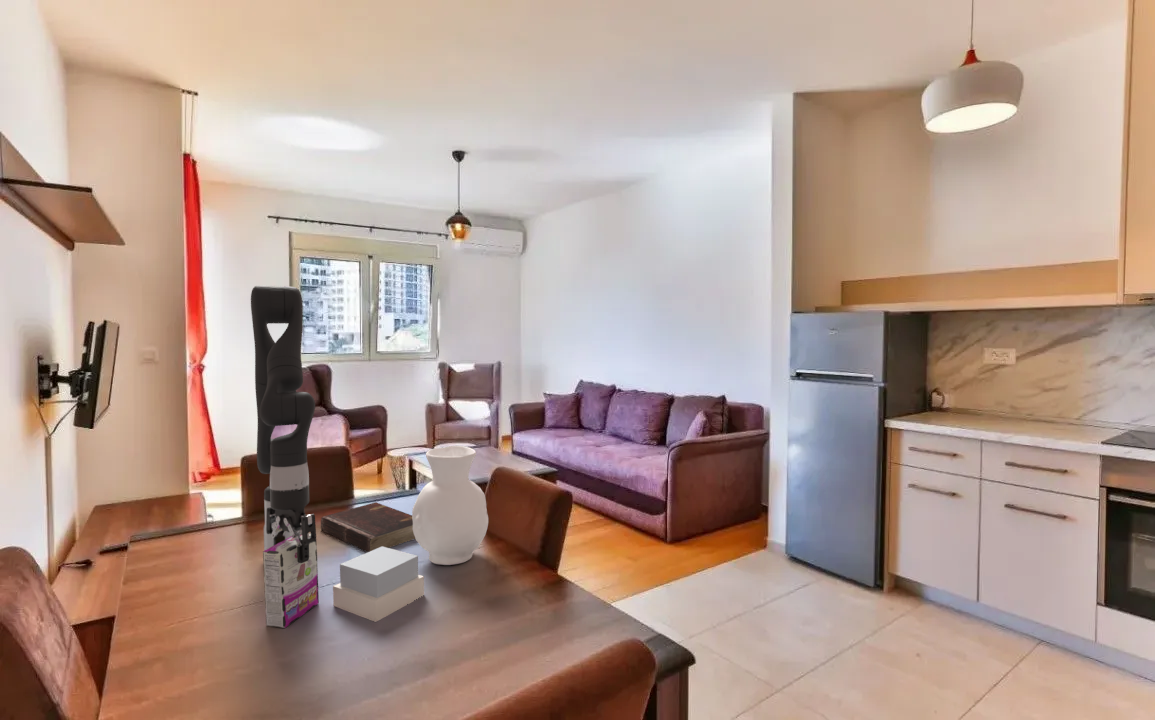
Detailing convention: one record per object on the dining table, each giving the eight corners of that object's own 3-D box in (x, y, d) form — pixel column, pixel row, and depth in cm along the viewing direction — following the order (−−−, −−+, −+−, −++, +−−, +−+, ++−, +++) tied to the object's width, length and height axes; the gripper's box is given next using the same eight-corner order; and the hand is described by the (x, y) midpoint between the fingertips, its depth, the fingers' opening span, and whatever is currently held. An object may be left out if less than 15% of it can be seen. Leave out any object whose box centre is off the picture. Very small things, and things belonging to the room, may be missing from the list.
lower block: (333, 607, 125) (333, 586, 125) (383, 583, 138) (382, 563, 137) (375, 623, 118) (375, 601, 118) (424, 597, 130) (423, 576, 130)
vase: (438, 582, 137) (437, 462, 136) (401, 556, 153) (400, 449, 152) (501, 562, 149) (501, 452, 148) (461, 539, 166) (461, 440, 164)
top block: (340, 585, 125) (339, 564, 125) (382, 566, 136) (382, 546, 136) (377, 598, 120) (376, 575, 119) (418, 576, 130) (417, 555, 130)
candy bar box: (300, 601, 127) (298, 531, 126) (319, 603, 126) (318, 533, 125) (263, 626, 116) (261, 550, 116) (284, 629, 115) (282, 552, 115)
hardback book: (321, 531, 174) (320, 516, 173) (376, 516, 188) (375, 502, 188) (369, 555, 155) (369, 537, 155) (426, 536, 169) (426, 520, 169)
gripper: (253, 484, 120) (255, 557, 121) (293, 493, 113) (294, 571, 114) (286, 476, 127) (288, 546, 127) (326, 484, 120) (327, 558, 120)
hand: (291, 557), depth 121 cm, fingers open, 8 cm apart
